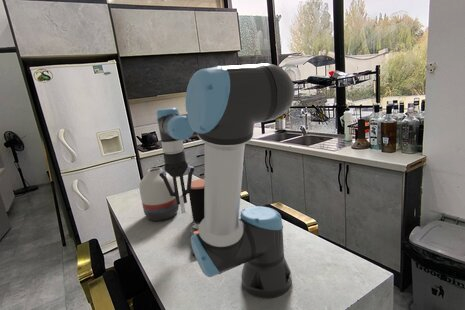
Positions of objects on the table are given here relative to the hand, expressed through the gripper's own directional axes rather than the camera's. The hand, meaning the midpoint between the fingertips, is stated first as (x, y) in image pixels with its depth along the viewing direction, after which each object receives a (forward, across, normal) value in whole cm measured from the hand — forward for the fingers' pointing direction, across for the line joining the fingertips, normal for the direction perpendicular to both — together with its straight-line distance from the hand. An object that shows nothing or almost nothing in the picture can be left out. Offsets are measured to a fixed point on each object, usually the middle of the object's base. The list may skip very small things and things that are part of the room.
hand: (183, 211), depth 107 cm
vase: (+14, +10, -32) cm, 36 cm away
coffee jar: (+14, -9, -18) cm, 25 cm away
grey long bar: (+14, -4, -1) cm, 15 cm away
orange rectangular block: (+11, -6, +4) cm, 13 cm away
